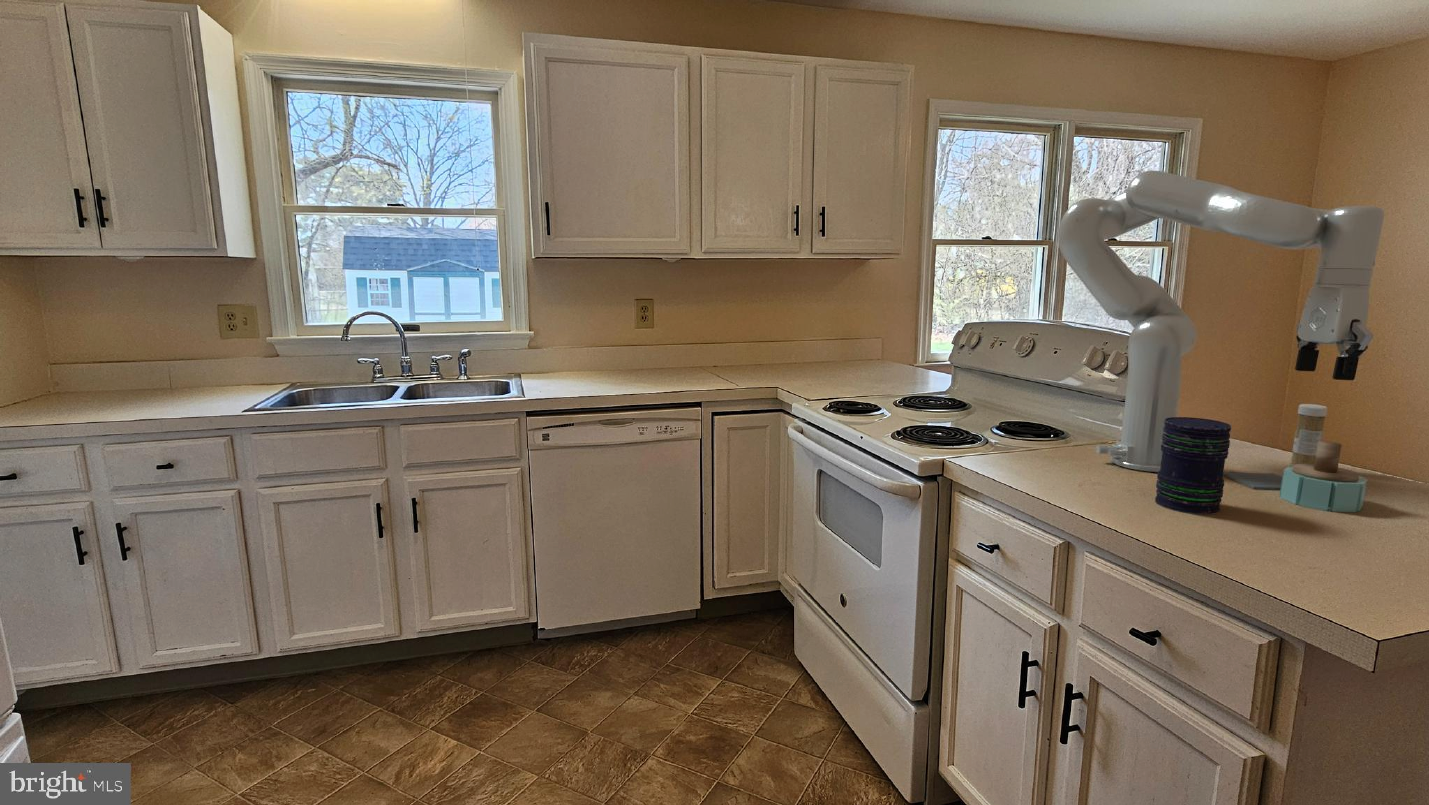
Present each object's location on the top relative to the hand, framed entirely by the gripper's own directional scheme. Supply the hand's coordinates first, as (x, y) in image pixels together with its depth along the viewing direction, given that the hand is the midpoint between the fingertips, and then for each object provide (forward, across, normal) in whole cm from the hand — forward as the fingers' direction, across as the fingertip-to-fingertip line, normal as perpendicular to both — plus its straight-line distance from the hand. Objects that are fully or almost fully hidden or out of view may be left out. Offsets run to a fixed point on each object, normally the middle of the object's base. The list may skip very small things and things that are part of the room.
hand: (1323, 375), depth 129 cm
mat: (+22, -6, -3) cm, 23 cm away
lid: (+17, +6, 0) cm, 18 cm away
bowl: (+22, +6, 0) cm, 23 cm away
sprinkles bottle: (+22, -18, +12) cm, 31 cm away
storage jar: (+23, +11, -25) cm, 35 cm away
